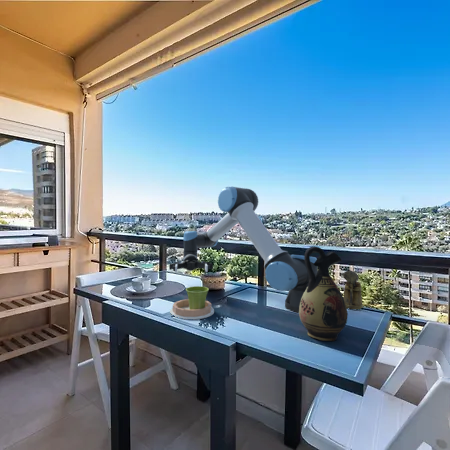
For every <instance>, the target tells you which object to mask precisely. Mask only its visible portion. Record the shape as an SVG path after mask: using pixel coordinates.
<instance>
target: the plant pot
mask: <svg viewBox="0 0 450 450" xmlns="http://www.w3.org/2000/svg"><path fill="white" fill-rule="evenodd" d="M185 291H186V294H187V299H188V300H189V308H190V309H193V310H194V309H201V308H204V307H205V302H206V301H207V296H208V292H209V287H206V286H202V285H200V286H199V285H197V286H188V287H187V288H185Z"/></svg>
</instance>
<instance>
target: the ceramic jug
mask: <svg viewBox="0 0 450 450" xmlns="http://www.w3.org/2000/svg"><path fill="white" fill-rule="evenodd" d="M304 252H305V253H304V255H303V256H304V259H305V263H306V267H307V270H308V273H309V277H310V280H309V284H308V287H307V289H306V290H305V292H304V294H303V296H302V298H301V302H300V306H299V312H298V315H299V320H300V322H301V323H302V325H303V326H304V328H305V329H306V331H307V336H308V337H310V338H313V339H315V340H316V339H317V340H319V341H323V342H335V341H337V339H338V336H339V335H340V333H341V332H342V331H343V329H344V328H345V326H346V325H347V323H348V316H349V314H348V309H347V308H346V304H345V301H344V298H343V297H344V295H343V294H342V292H341V290H340V289H339V287H338V285H337V283H335V281H334V280H333V278H332V276H331V275H330V271H329V268H330V267H331V266H333V265H335V264H337V263H340V262H342V258H341V257H340V256H339V255H338V253H336V252H334V251H328V252H327V253H325V251H324V249H323V248H320V247H318V246H309V248H307V249H306V250H305V251H304ZM316 253H317V254H319V257H318V258H317V257H316V258H317V260H316V261H315V263H314V265H315V266H318V271H317V274H316V276H315V274H314V272H313V269H312V266H311V263H310V257H311V255H312V254H316Z"/></svg>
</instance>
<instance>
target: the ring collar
mask: <svg viewBox="0 0 450 450" xmlns="http://www.w3.org/2000/svg"><path fill="white" fill-rule="evenodd" d="M170 313H171V314H172V315H174V316H176V317H179V318H178V319H180V318H183V319H182V320H188V319H193V320H202V319H206V318H209V317H211V316H212V315H214V313H215V309H214V307H212V302H210V301H208V300H206V302H205V307H204V308H201V309H194V310H193V309H190V308H189V300H188V298H186V299H185V298H184V299H181V300H178V301H175V302H174V303H173V305H172V308H171V309H170V310H169V314H170ZM171 314H170V315H171ZM172 315H171V316H172ZM176 317H175V318H176Z"/></svg>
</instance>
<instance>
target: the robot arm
mask: <svg viewBox="0 0 450 450" xmlns="http://www.w3.org/2000/svg"><path fill="white" fill-rule="evenodd" d="M217 204H218V208H219V210H220V211H222V212H224V213H226V214H225V215H224V216H223V217H222V218H221V219H220V220H219V221H218V222H217V223H215V224H214V225H213V226H212V227H211V228H210V229H209V230H208V231H207V232H205V233H203V234H202V233H201V234H199V233H198V231H196V230H195V231H193V230H191V231H186V230H185V231H184V233H183V261H182V262H181V261H176V262H175V261H174V262H173V263H169V269H168V270H170V271H171V270H172V271H173V272H175V273H178V270H180V269H185V270H187V271H195V270H196V269H204V272H205V273H208V271H209V270H213V265H214V264H213V263H211V262H209V261H205V260H201V262H200V261H199V260H198V249H201V248H212V247H215V246H217V245H218V242H219V240H220V239H221V238H222V237H223V236H225V234H227V233H228V232H229V231H230V230H231V229H232V228H234V227H235V226H236V225H237V224H239V226H240V227H241V228H242V230H243V231H244V233H245V234H246V236H247V237H248V239H249V240H250V242H251V243H252V244H253V246H254V248H255V249H256V251H257V253H259V256H260V257H261V259H263V261H264V265H263V268H264V269H265V272H264V273H265V280H266V282H267V284H268V285H269V286H270V287H271V288H273V289H274V290H276V291H279V292H284V291H288V292H287V294H286V298H285V300H284V307H285V309H287V310H289V311H291V312H294V313H299V306H300V302H301V298H302V296H303V294H304V292H305V290H306V289H307V287H308V284H309V280H310V277H309V273H308V270H307V267H306V263H305V259H304V255H299V254H290V253H289V251H288V250H283V249H281V247H280V245H279V244H278V243H277V241H276V240H275V239H274V237H273V236H272V234H271V233H270V232H269V230H268V229H267V228H266V226H265V225H264V223H263V222H262V220H261V219H260V218H259V217H258V215H257V213H256V212H255V211H256V209H258V205H259V197H258V195H257V193H256V192H255V191H254V190H252V189H251V188H245V187H244V188H243V187H237V186H226V187H223V188H222V190H221V191H220V192H219V194H218V199H217ZM316 260H317V257H315V256H310V263H311V266H312V269H313V272H314V274H315V276H316V274H317V271H318V269H319V267H318V266H315V265H314V263H315V261H316Z"/></svg>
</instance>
